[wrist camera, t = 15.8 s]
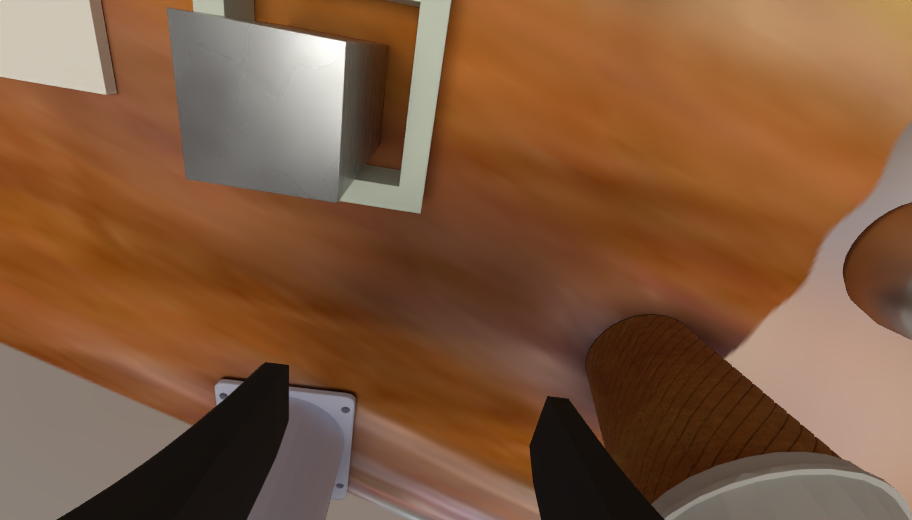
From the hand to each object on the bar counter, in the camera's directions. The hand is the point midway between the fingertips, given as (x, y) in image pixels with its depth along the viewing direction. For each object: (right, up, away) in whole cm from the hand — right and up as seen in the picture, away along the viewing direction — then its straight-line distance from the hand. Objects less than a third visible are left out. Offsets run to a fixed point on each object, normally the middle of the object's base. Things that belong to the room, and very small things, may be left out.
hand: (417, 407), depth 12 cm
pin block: (-4, +11, +6) cm, 13 cm away
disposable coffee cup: (+12, -2, +13) cm, 18 cm away
